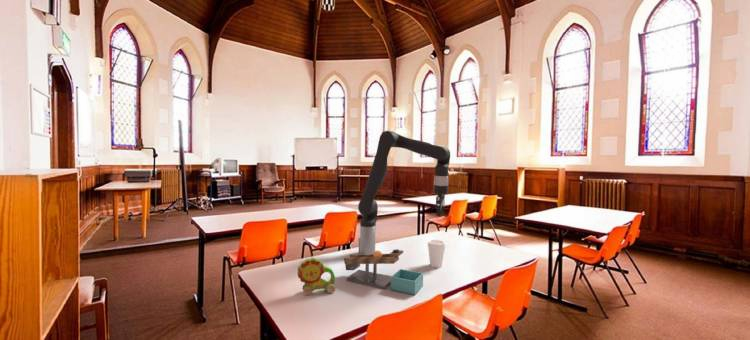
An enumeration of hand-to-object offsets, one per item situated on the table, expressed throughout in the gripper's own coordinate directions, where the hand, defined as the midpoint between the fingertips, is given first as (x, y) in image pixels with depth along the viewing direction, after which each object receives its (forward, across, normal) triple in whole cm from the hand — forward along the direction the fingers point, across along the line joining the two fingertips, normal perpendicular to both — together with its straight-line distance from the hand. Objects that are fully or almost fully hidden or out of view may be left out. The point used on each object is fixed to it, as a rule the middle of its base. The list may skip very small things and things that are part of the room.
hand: (439, 214), depth 173 cm
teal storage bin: (+28, +33, -8) cm, 45 cm away
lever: (+23, +25, -26) cm, 43 cm away
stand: (+29, +31, -27) cm, 50 cm away
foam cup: (+29, -1, -1) cm, 29 cm away
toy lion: (+29, +53, -44) cm, 75 cm away
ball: (+16, +32, -24) cm, 42 cm away
